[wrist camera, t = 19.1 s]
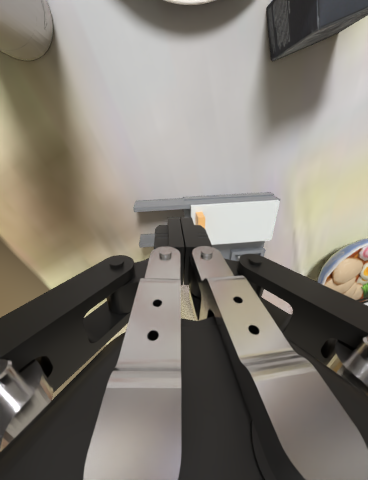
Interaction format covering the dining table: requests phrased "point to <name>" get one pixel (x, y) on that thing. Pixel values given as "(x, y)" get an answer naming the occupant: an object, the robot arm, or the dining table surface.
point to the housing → (227, 250)
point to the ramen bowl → (348, 271)
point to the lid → (237, 220)
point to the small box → (309, 22)
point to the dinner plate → (189, 2)
